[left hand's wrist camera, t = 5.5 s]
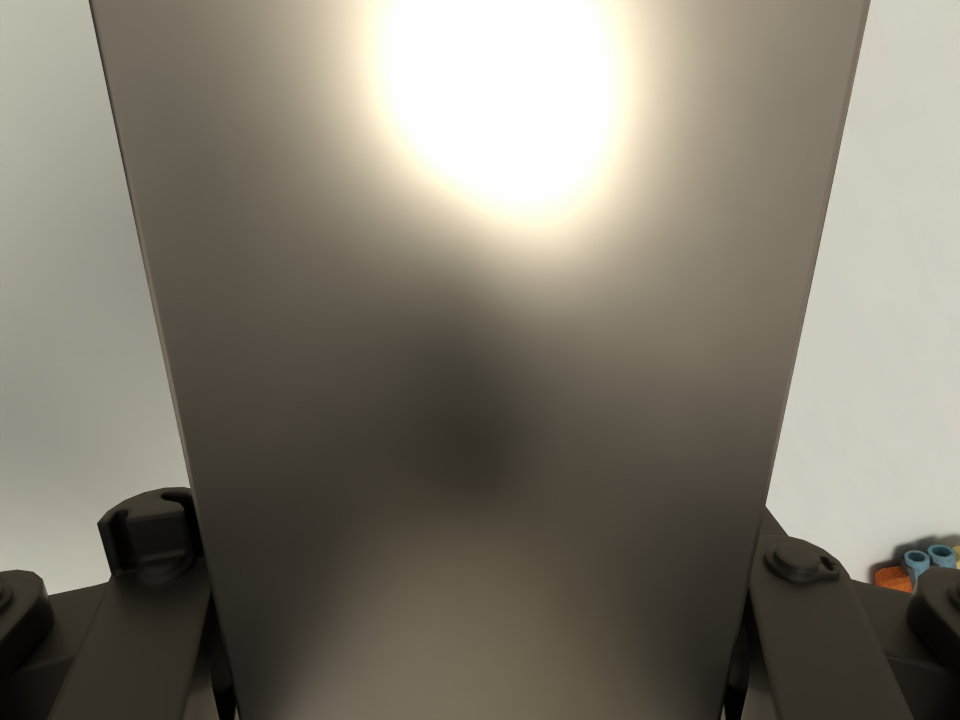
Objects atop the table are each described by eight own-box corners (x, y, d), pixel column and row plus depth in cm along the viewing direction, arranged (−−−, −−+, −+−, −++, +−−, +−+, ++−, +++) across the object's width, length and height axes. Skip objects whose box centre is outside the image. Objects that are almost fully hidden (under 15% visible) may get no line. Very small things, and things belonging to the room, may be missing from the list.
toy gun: (814, 882, 32) (1028, 873, 29) (753, 601, 26) (1007, 564, 24) (796, 828, 34) (991, 815, 32) (736, 562, 29) (964, 524, 27)
